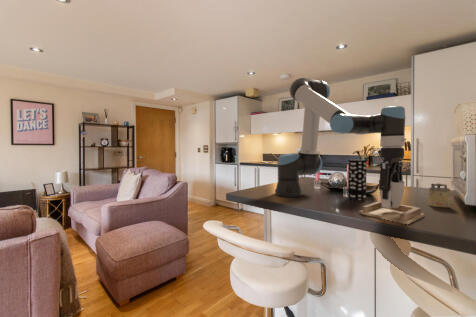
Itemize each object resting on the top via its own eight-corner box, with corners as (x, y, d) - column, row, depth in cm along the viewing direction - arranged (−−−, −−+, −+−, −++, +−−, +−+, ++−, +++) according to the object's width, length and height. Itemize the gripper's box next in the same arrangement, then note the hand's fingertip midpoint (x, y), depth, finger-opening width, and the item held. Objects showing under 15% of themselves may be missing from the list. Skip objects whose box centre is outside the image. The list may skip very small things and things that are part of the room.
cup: (373, 203, 87) (374, 179, 87) (394, 203, 87) (394, 179, 86) (387, 209, 79) (387, 182, 79) (409, 209, 79) (410, 182, 78)
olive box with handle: (447, 206, 94) (448, 183, 93) (451, 208, 90) (452, 185, 90) (427, 204, 97) (427, 182, 96) (430, 206, 93) (431, 184, 93)
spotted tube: (368, 200, 106) (369, 160, 105) (350, 199, 108) (351, 160, 107) (362, 196, 114) (363, 159, 113) (345, 196, 116) (346, 159, 115)
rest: (359, 213, 85) (359, 206, 85) (378, 206, 94) (378, 200, 94) (407, 225, 72) (407, 216, 72) (424, 216, 81) (424, 208, 81)
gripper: (391, 147, 73) (390, 212, 74) (414, 147, 84) (412, 203, 85) (368, 147, 79) (367, 207, 81) (392, 147, 91) (391, 200, 92)
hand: (390, 205), depth 83 cm, fingers closed on cup, 8 cm apart
